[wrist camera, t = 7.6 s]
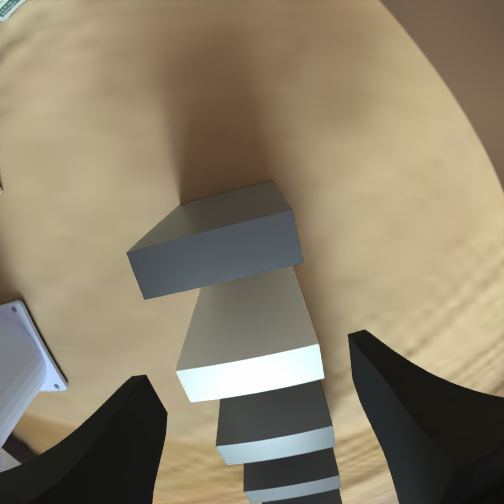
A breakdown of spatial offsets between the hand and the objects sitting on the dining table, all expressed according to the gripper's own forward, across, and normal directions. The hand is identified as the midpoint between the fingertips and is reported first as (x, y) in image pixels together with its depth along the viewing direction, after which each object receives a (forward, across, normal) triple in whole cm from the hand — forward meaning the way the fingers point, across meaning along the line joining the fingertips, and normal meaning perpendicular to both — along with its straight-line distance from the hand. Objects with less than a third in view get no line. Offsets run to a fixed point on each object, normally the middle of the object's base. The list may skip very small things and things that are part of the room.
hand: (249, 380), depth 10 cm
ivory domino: (+8, 0, 0) cm, 8 cm away
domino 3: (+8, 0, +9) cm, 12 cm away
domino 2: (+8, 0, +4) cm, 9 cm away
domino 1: (+8, 0, -4) cm, 9 cm away
